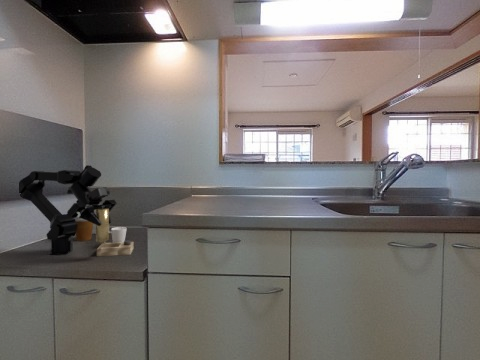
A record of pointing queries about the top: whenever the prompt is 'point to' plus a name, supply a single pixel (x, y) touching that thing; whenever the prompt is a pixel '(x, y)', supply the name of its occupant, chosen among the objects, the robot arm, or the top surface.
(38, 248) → the top surface
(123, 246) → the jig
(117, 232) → the cup
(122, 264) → the top surface
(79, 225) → the disposable coffee cup
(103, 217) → the tan piece
